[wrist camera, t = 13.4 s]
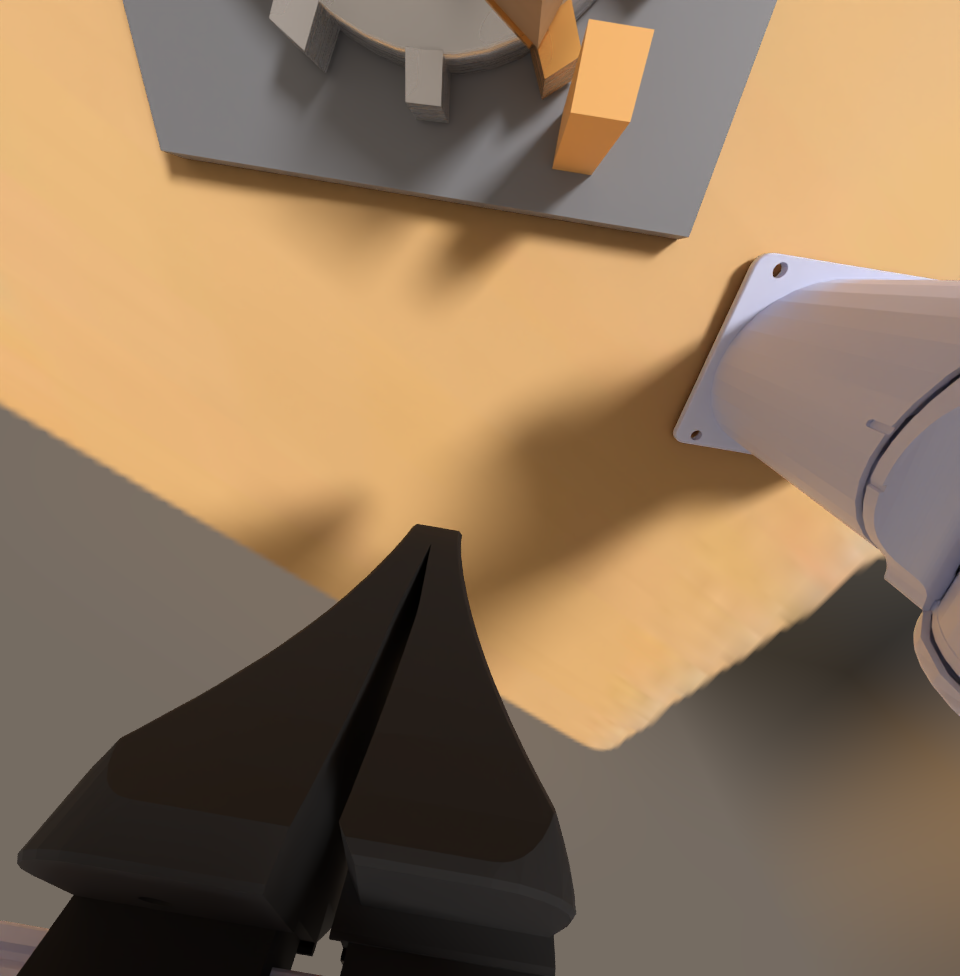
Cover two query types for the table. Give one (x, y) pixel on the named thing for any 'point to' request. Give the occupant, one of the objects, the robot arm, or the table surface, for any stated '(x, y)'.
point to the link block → (531, 16)
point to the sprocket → (433, 41)
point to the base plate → (465, 110)
